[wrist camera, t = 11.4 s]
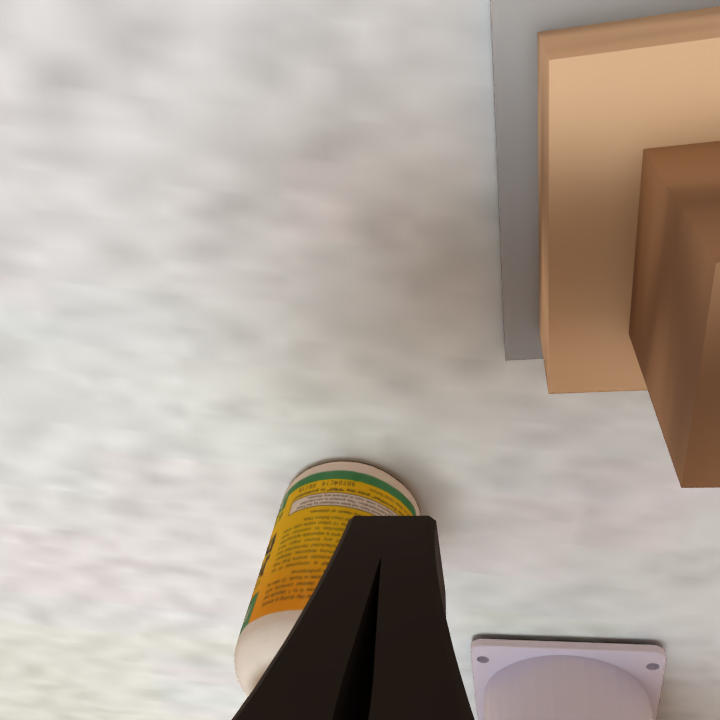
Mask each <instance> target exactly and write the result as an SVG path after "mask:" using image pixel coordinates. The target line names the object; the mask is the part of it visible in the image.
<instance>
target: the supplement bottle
mask: <svg viewBox="0 0 720 720" xmlns="http://www.w3.org/2000/svg"><path fill="white" fill-rule="evenodd" d="M353 516H420V511H419V508H418V505H417V503H416V501H415V499H414V497H413V496H412V494H411V493H410V492H409V491H408V490H407V489H406V488H405V487H404V486H403V485H402V484H401V483H400V482H398V481H397V480H396V479H394V478H393V477H392V476H390V475H389V474H387V473H386V472H384V471H382V470H380V469H377V468H375V467H372V466H369V465H366V464H362V463H357V462H330V463H326V464H322V465H318V466H315V467H313V468H310V469H308V470H307V471H305V472H303V473H302V474H301V475H299V476H298V477H297V478H296V479H295V480H294V481H293V482H292V483H291V485H290V486H289V487H288V489H287V491H286V493H285V495H284V498H283V501H282V504H281V507H280V510H279V513H278V516H277V519H276V522H275V526H274V529H273V532H272V535H271V538H270V542H269V545H268V548H267V551H266V555H265V558H264V560H263V563H262V567H261V570H260V573H259V576H258V579H257V582H256V585H255V588H254V592H253V595H252V598H251V601H250V604H249V607H248V610H247V613H246V616H245V619H244V623H243V626H242V629H241V632H240V635H239V638H238V642H237V646H236V650H235V670H236V675H237V678H238V681H239V683H240V685H241V687H242V689H243V691H244V692H245V693H246V695H247V696H249V695H250V693H251V692H252V690H253V689H254V687H255V686H256V684H257V683H258V681H259V680H260V678H261V677H262V675H263V674H264V672H265V671H266V669H267V668H268V666H269V664H270V663H271V661H272V660H273V658H274V657H275V655H276V654H277V652H278V651H279V649H280V647H281V646H282V644H283V643H284V641H285V640H286V638H287V636H288V635H289V633H290V631H291V630H292V628H293V626H294V625H295V623H296V621H297V619H298V618H299V616H300V614H301V612H302V611H303V609H304V607H305V605H306V604H307V602H308V600H309V599H310V597H311V595H312V593H313V592H314V590H315V588H316V586H317V584H318V582H319V580H320V579H321V577H322V575H323V573H324V571H325V569H326V567H327V565H328V563H329V561H330V559H331V557H332V555H333V553H334V551H335V549H336V547H337V545H338V543H339V541H340V539H341V537H342V535H343V532H344V530H345V528H346V526H347V523H348V521H349V520H350V519H351V518H352V517H353ZM242 705H243V704H242ZM240 708H241V707H240Z"/></svg>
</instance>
